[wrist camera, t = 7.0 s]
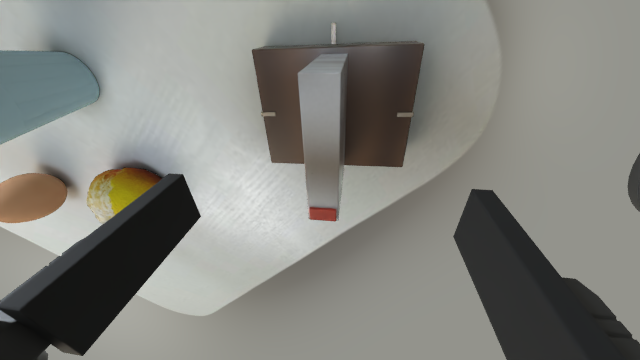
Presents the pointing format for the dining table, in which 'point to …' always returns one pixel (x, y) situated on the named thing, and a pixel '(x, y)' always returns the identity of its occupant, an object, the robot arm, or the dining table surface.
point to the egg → (30, 197)
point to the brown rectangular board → (361, 102)
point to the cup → (41, 89)
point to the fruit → (118, 190)
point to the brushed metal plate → (324, 132)
